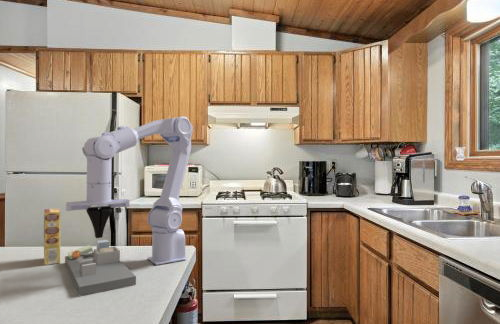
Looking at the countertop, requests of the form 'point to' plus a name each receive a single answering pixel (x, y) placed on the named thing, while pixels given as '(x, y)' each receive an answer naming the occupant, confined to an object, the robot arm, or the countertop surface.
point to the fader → (102, 244)
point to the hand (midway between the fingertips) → (98, 237)
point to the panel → (99, 272)
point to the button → (106, 250)
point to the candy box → (51, 236)
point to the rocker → (81, 251)
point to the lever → (78, 257)
